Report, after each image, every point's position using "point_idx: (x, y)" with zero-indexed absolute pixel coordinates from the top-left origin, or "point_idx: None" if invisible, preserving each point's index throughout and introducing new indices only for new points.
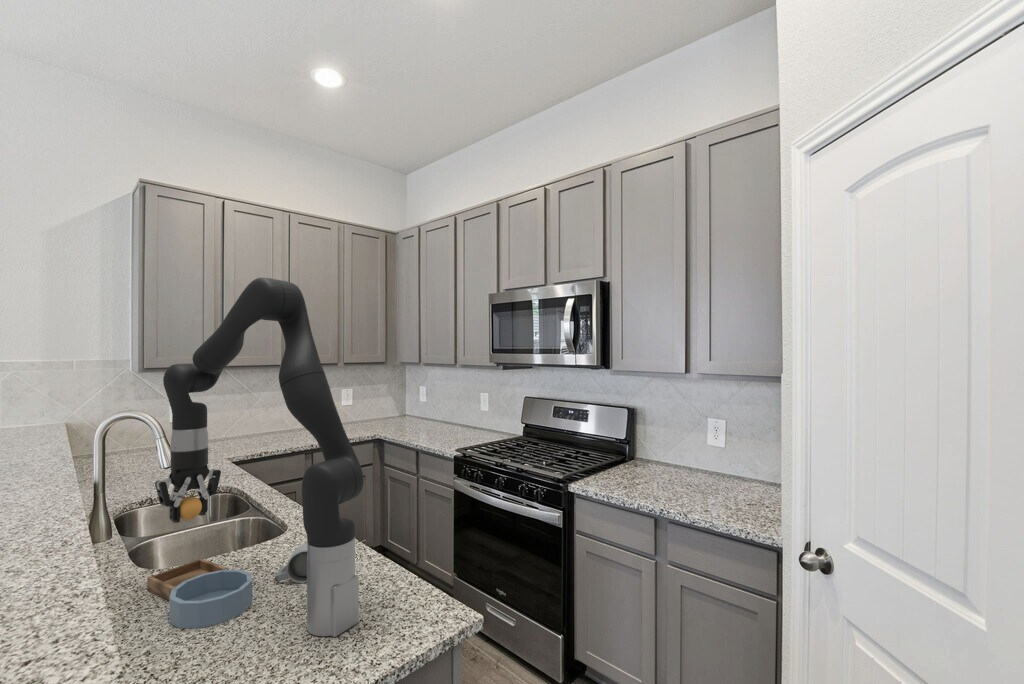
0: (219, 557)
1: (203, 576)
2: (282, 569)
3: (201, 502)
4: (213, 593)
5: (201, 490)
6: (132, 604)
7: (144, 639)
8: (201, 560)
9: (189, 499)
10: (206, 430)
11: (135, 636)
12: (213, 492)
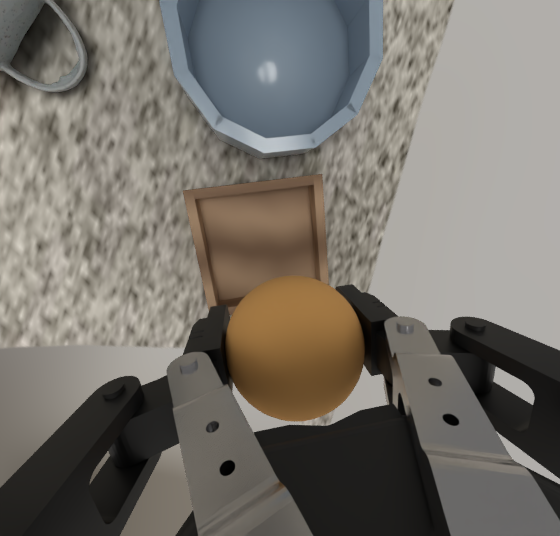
0: (159, 345)
1: (268, 139)
2: (50, 85)
3: (224, 353)
4: (248, 121)
5: (232, 396)
6: (359, 245)
7: (410, 52)
8: (214, 304)
9: (321, 353)
10: None
11: (413, 86)
12: (121, 387)
